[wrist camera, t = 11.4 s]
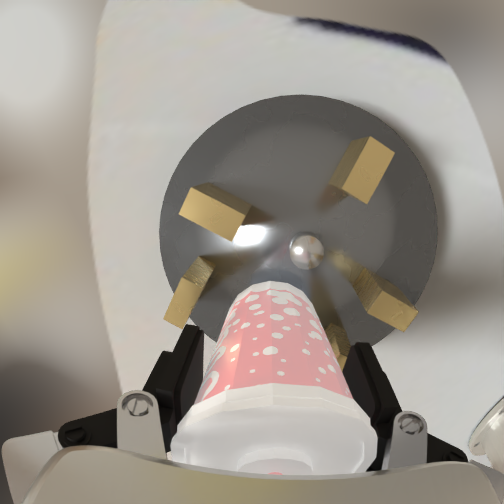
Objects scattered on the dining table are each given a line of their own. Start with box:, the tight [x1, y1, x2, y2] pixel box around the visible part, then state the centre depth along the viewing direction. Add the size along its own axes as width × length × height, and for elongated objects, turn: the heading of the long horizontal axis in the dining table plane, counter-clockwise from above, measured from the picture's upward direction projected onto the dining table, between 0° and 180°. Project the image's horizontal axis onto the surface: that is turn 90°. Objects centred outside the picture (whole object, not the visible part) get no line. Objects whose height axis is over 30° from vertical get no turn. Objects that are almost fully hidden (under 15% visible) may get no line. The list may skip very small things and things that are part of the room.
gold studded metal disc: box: [159, 95, 438, 371], centre depth 14 cm, size 15×15×5 cm
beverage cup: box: [170, 281, 378, 475], centre depth 9 cm, size 6×6×14 cm
